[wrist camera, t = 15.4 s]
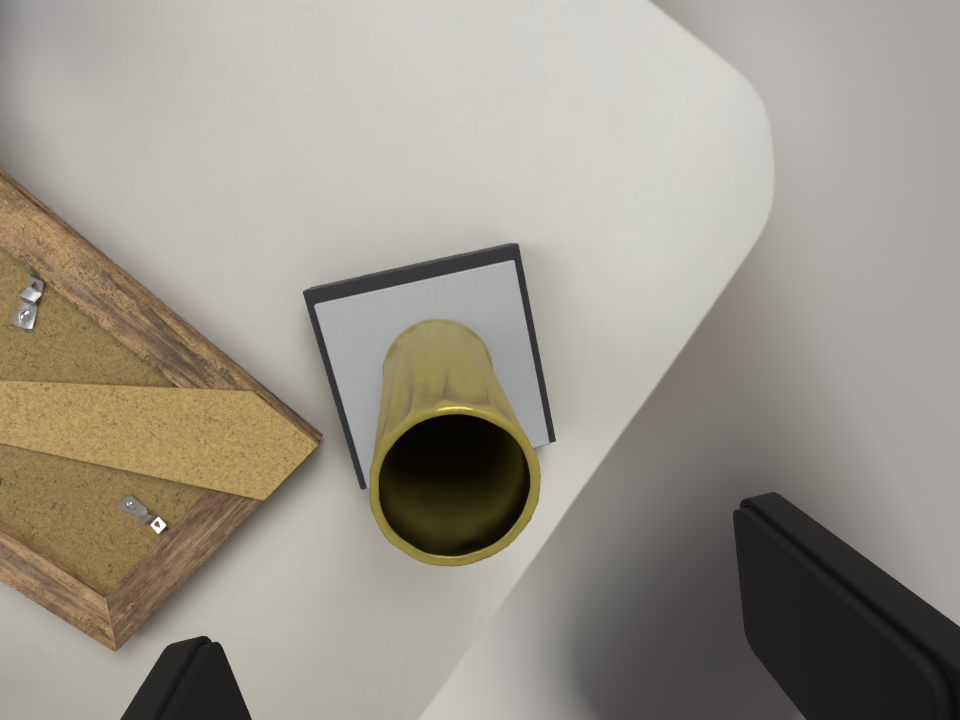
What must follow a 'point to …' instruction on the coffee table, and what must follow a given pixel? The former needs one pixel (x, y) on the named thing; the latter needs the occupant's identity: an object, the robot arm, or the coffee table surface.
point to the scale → (418, 297)
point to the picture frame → (117, 432)
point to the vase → (449, 450)
